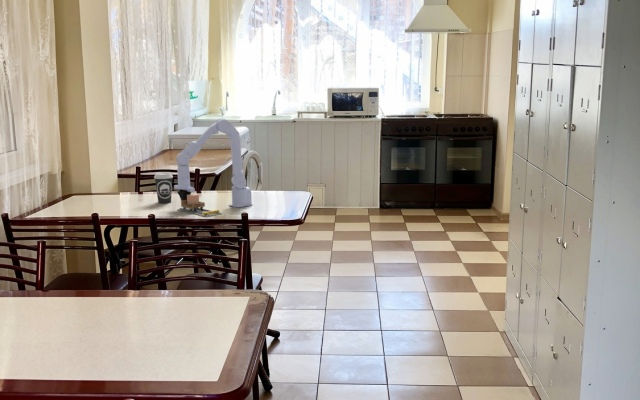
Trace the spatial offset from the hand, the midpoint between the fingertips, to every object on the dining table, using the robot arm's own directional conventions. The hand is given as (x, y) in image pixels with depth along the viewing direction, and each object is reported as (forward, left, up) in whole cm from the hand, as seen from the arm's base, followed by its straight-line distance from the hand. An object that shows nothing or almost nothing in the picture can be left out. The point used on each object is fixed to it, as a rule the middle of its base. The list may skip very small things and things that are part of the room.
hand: (185, 205), depth 333 cm
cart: (0, +7, -2) cm, 7 cm away
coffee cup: (-3, -22, -2) cm, 23 cm away
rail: (0, +12, -2) cm, 12 cm away
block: (0, +7, +1) cm, 7 cm away
